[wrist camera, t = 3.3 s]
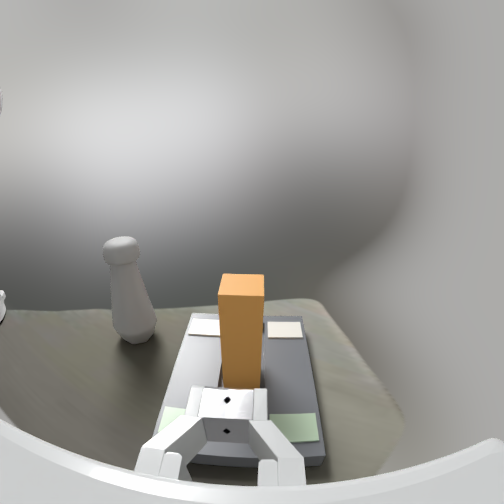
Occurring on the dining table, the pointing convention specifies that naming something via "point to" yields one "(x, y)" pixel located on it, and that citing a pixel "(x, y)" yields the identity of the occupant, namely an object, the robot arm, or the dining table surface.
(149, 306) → the salt shaker
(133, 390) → the dining table surface
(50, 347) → the dining table surface
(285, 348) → the panel
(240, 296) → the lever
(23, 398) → the dining table surface
